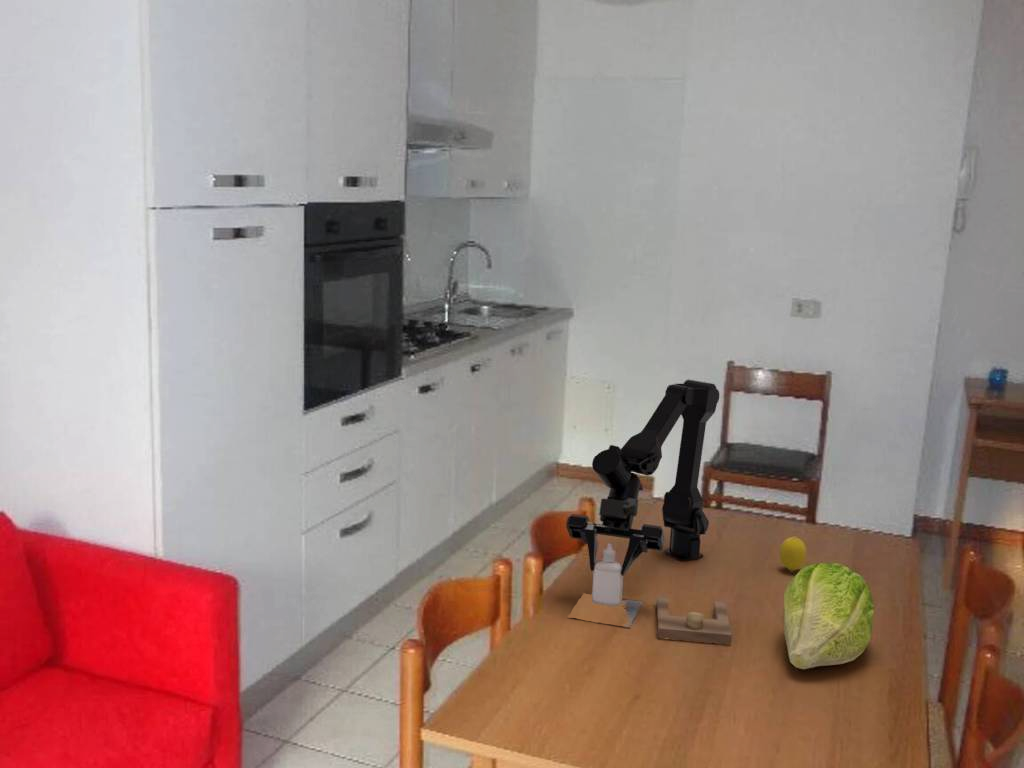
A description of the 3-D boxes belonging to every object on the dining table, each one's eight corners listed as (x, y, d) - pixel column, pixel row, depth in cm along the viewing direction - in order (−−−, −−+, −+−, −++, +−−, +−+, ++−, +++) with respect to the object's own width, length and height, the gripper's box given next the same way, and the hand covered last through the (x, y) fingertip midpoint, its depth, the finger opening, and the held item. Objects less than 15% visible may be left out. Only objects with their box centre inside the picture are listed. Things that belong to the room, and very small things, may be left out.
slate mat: (583, 594, 199) (583, 592, 198) (642, 604, 195) (642, 602, 195) (567, 617, 187) (567, 615, 187) (629, 628, 184) (630, 626, 184)
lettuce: (845, 710, 165) (756, 686, 175) (891, 621, 182) (808, 604, 192) (837, 637, 160) (745, 617, 169) (885, 553, 177) (799, 539, 187)
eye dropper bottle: (611, 610, 188) (614, 550, 185) (588, 600, 191) (591, 542, 189) (625, 603, 191) (628, 544, 188) (602, 594, 194) (605, 536, 192)
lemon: (807, 576, 212) (811, 541, 211) (781, 575, 212) (785, 540, 211) (800, 567, 218) (804, 532, 216) (775, 566, 218) (778, 531, 216)
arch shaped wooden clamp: (656, 605, 195) (658, 585, 194) (723, 610, 193) (725, 591, 192) (658, 638, 180) (659, 618, 179) (730, 645, 179) (732, 624, 178)
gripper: (570, 474, 193) (552, 547, 185) (666, 486, 187) (651, 562, 179) (578, 501, 202) (562, 571, 194) (670, 513, 196) (656, 586, 188)
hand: (606, 572), depth 188 cm, fingers closed on eye dropper bottle, 6 cm apart
